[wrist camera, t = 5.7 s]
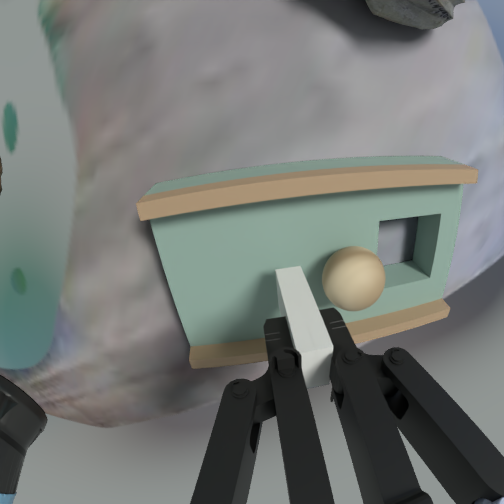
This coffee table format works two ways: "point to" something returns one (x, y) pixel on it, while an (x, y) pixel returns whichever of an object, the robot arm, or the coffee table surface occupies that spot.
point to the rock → (0, 175)
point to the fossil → (415, 11)
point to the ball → (353, 278)
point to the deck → (300, 243)
